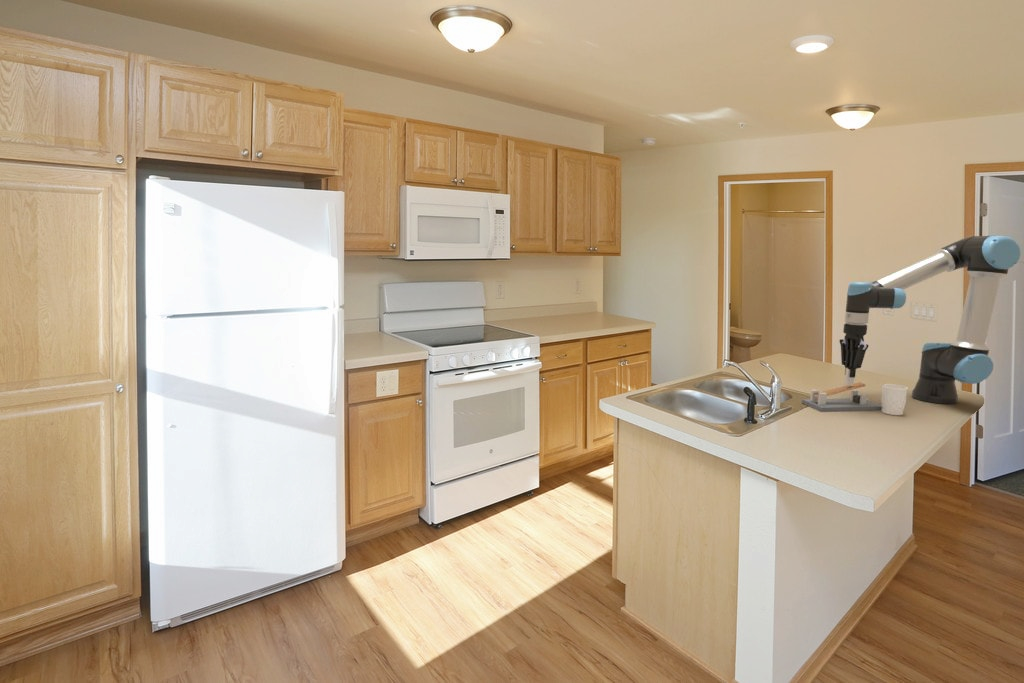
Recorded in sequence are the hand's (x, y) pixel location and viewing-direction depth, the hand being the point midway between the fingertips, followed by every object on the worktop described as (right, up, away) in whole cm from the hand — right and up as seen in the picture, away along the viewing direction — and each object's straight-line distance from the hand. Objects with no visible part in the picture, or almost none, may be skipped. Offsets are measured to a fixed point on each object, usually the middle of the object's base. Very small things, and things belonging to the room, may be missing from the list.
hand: (848, 385), depth 220 cm
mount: (-2, -8, +1) cm, 9 cm away
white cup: (+12, -10, -7) cm, 17 cm away
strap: (-4, -2, 0) cm, 4 cm away
